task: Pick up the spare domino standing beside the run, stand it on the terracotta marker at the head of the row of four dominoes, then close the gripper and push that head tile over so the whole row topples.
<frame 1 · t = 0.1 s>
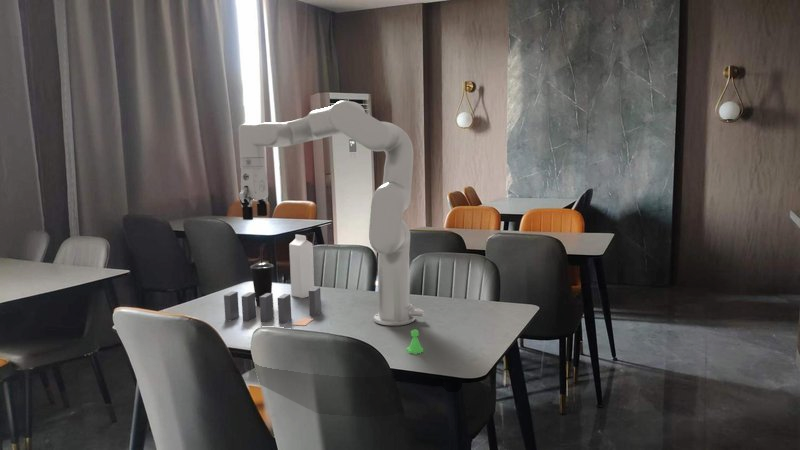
hand: (255, 217, 191), 31 cm above the table, tool pointing down, fingers open, 9 cm apart
head marker: (303, 322, 184), on the table
game piece: (415, 352, 157), on the table
domino 2: (285, 321, 185), on the table
domino 3: (267, 320, 187), on the table
drinking cup: (263, 305, 204), on the table
spare domino: (315, 313, 194), on the table
domino 4: (249, 319, 188), on the table
milk: (303, 295, 217), on the table
domino 5: (232, 318, 190), on the table
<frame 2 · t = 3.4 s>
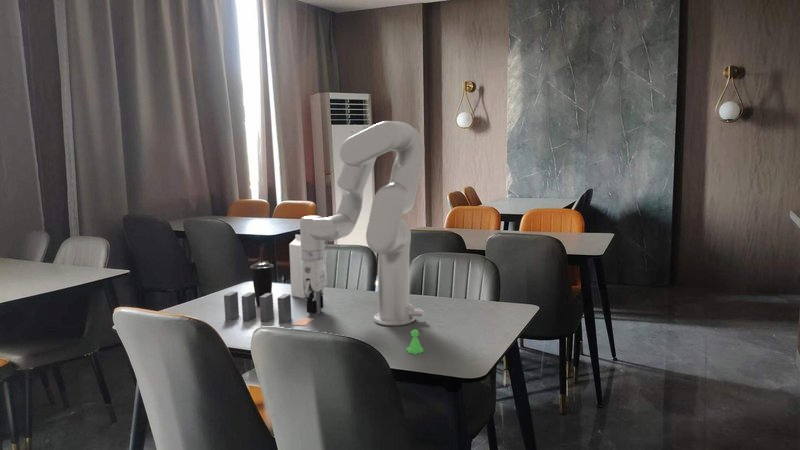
hand: (315, 309, 193), 1 cm above the table, tool pointing down, fingers closed on spare domino, 4 cm apart
spare domino: (315, 313, 194), on the table, touching gripper
everything else where it was.
when the fingers open (1 cm above the table, at t = 9.2 s): spare domino stays where it is, resting on head marker.
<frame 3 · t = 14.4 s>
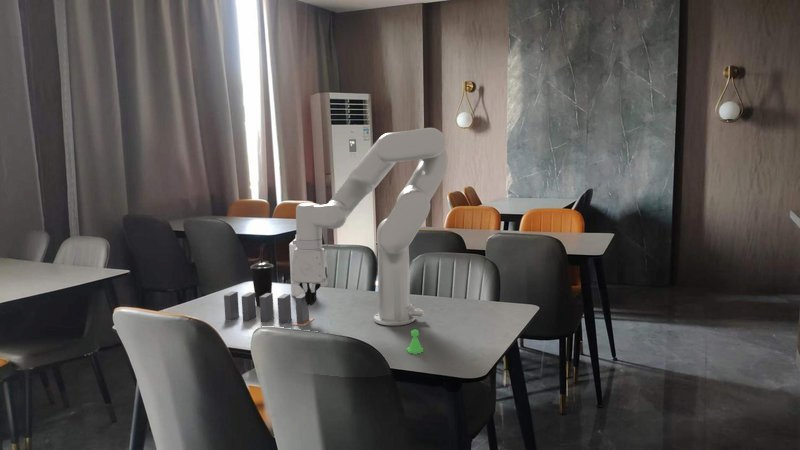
hand: (311, 304, 182), 6 cm above the table, tool pointing down, fingers closed
spare domino: (303, 321, 184), resting on head marker, touching gripper
everything else where it was.
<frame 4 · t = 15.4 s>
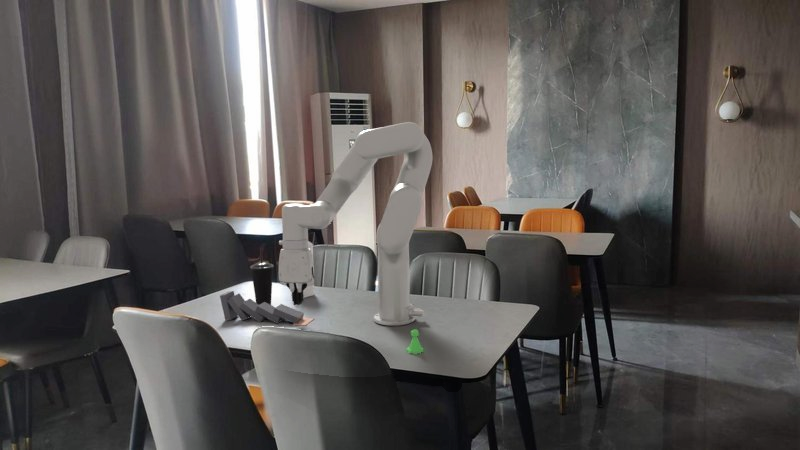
hand: (298, 303, 184), 6 cm above the table, tool pointing down, fingers closed
domino 2: (282, 318, 186), point 1 cm above the table, tilted 65°, touching domino 3, spare domino
domino 3: (265, 317, 187), point 1 cm above the table, tilted 58°, touching domino 2
spare domino: (300, 318, 184), point 1 cm above the table, tilted 71°, touching domino 2, head marker
domino 4: (248, 317, 188), point 1 cm above the table, tilted 38°
domino 5: (232, 317, 190), on the table, tilted 10°
everything else where it was.
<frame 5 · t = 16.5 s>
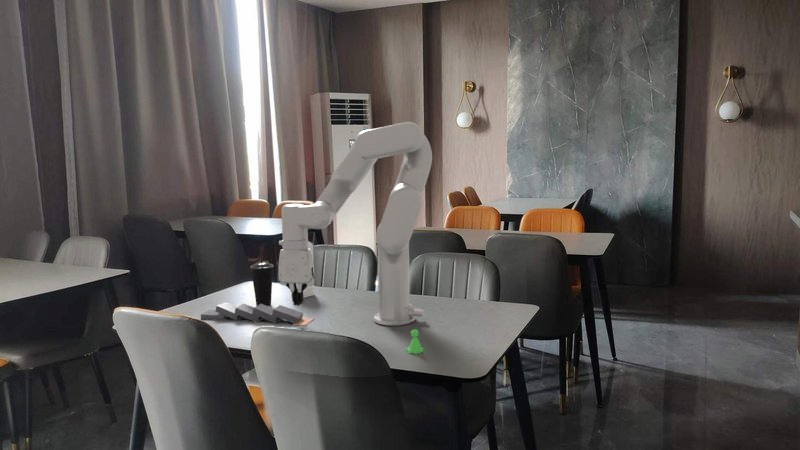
hand: (298, 304, 184), 6 cm above the table, tool pointing down, fingers closed
domino 2: (279, 318, 186), point 1 cm above the table, tilted 70°, touching domino 3
domino 3: (261, 317, 187), point 1 cm above the table, tilted 72°, touching domino 2, domino 4
spare domino: (299, 318, 184), point 1 cm above the table, tilted 74°, touching head marker
domino 4: (241, 315, 189), point 1 cm above the table, tilted 74°, touching domino 3, domino 5
domino 5: (227, 316, 190), on the table, tilted 90°, touching domino 4
everything else where it was.
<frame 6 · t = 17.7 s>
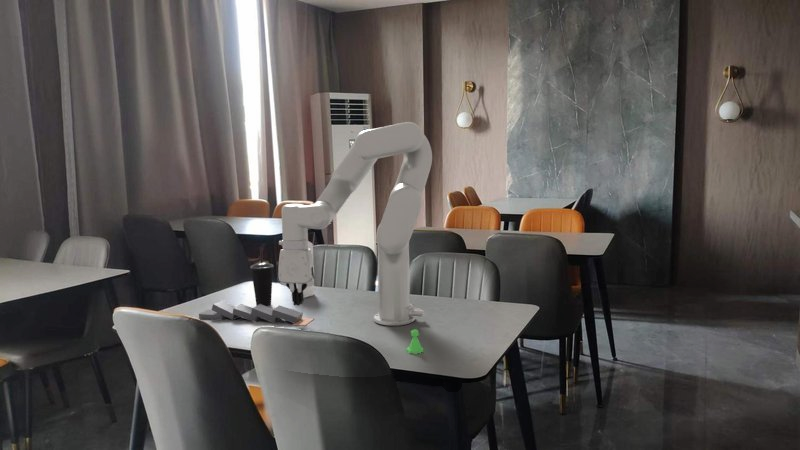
hand: (298, 304, 184), 6 cm above the table, tool pointing down, fingers closed
domino 2: (278, 317, 186), point 1 cm above the table, tilted 72°, touching domino 3, spare domino
spare domino: (299, 318, 184), point 1 cm above the table, tilted 74°, touching domino 2, head marker
domino 4: (237, 315, 189), point 1 cm above the table, tilted 71°, touching domino 3, domino 5
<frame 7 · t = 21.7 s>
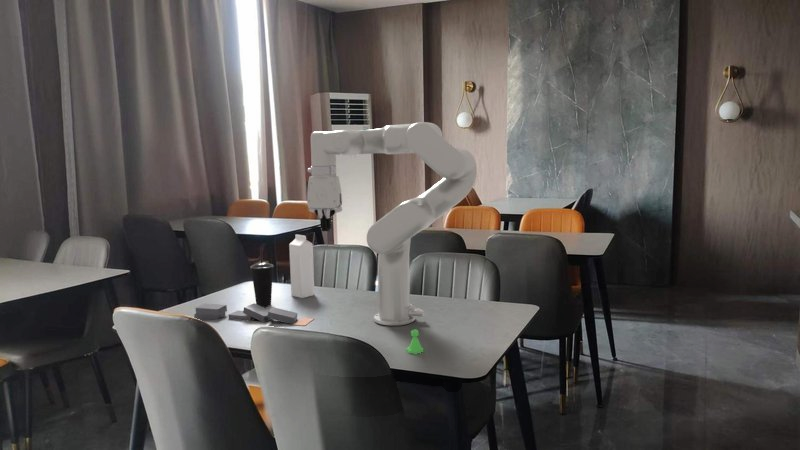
hand: (326, 230, 188), 27 cm above the table, tool pointing down, fingers closed
domino 2: (269, 317, 186), point 1 cm above the table, tilted 74°
domino 3: (254, 317, 188), on the table, tilted 90°
spare domino: (295, 318, 184), point 1 cm above the table, tilted 76°
domino 4: (222, 310, 190), point 2 cm above the table, tilted 90°, touching domino 5
domino 5: (221, 316, 191), on the table, tilted 90°, touching domino 4
everything else where it was.
at the end: domino 5 tilted 90°; spare domino tilted 76°; spare domino inside the target area (0.6 cm from its centre), point 1.0 cm above the table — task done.
